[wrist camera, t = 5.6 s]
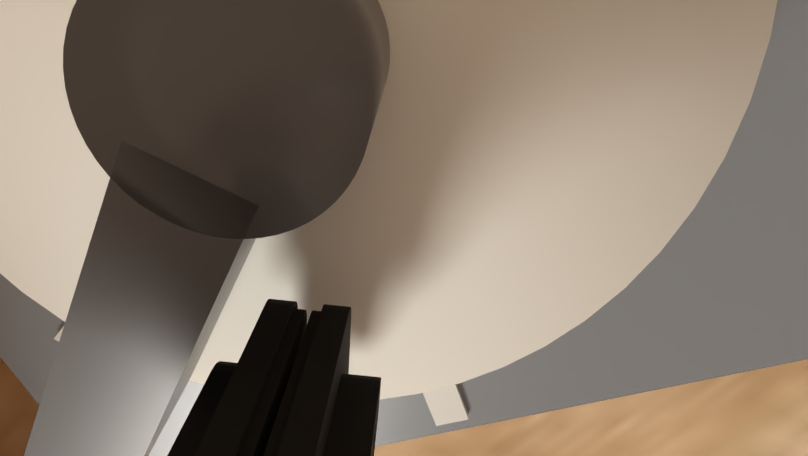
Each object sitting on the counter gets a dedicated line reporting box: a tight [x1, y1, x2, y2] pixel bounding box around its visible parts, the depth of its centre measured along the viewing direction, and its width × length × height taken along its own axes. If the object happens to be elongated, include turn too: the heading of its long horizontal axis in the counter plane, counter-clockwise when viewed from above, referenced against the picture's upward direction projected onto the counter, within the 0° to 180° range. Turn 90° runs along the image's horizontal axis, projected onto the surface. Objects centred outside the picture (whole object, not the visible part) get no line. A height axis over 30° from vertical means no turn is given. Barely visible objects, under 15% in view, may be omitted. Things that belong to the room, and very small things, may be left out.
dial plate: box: [0, 0, 808, 456], centre depth 12 cm, size 22×22×2 cm
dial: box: [0, 0, 777, 456], centre depth 9 cm, size 16×16×5 cm
